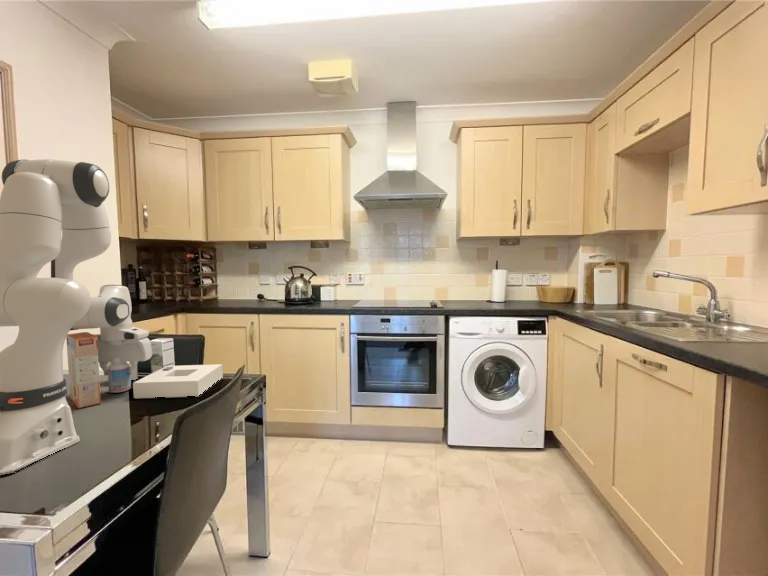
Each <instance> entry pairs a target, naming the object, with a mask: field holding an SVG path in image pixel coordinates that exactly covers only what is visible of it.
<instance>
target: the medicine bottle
mask: <svg viewBox="0 0 768 576" xmlns="http://www.w3.org/2000/svg"><path fill="white" fill-rule="evenodd" d="M127 363H129V364H130V362H127ZM110 364H111V363H110V362H108V364H106V365H107V366H109V365H110ZM130 367H131V365H130ZM134 370H135V373H134V374H133V375H130V378H131V380H134V381H137V380H136V379H138V380H139V373H138V370H139V369H138V364H137V365H136V367H135V368H134ZM106 378H108V376H107V377H106Z"/></svg>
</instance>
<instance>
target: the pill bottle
mask: <svg viewBox="0 0 768 576" xmlns="http://www.w3.org/2000/svg"><path fill="white" fill-rule="evenodd" d="M110 363H111V364H110V365H109V366H108V377H107V383H108V392H109V393H113V394H114V393H115V394H116V393H123V392H126V391H129V390H130V389H131V387H132V381H131V378H130V375H127V370H128V369H130V364H129V363H127V362H120V359H119V358H110Z"/></svg>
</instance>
